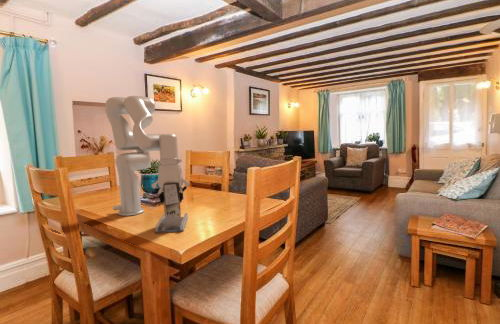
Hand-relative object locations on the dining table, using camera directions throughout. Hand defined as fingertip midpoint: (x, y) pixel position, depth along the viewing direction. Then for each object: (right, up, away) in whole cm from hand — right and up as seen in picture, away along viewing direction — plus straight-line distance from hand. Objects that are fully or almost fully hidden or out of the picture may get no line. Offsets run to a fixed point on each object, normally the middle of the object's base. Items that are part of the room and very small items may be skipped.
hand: (171, 201), depth 123 cm
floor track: (0, -11, +1) cm, 11 cm away
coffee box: (0, -8, +1) cm, 8 cm away
